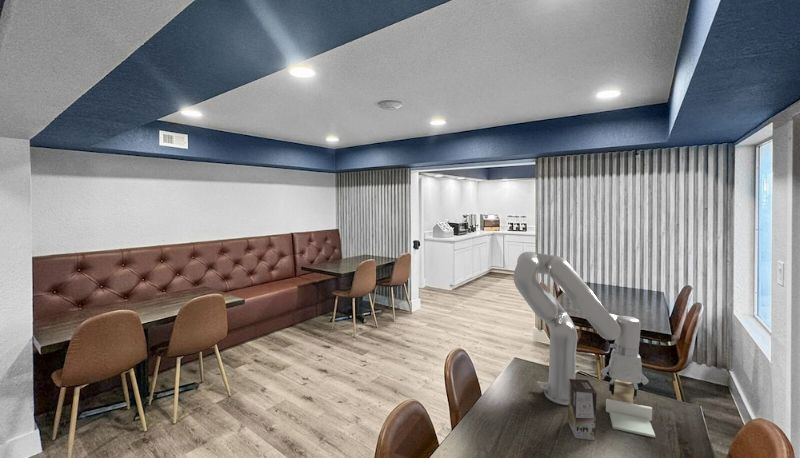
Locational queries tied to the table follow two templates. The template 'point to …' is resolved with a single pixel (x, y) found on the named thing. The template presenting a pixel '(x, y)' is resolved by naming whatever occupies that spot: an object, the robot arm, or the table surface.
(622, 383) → the maple cube
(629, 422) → the sage pad
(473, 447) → the table surface
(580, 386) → the coffee box
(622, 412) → the cream screen
